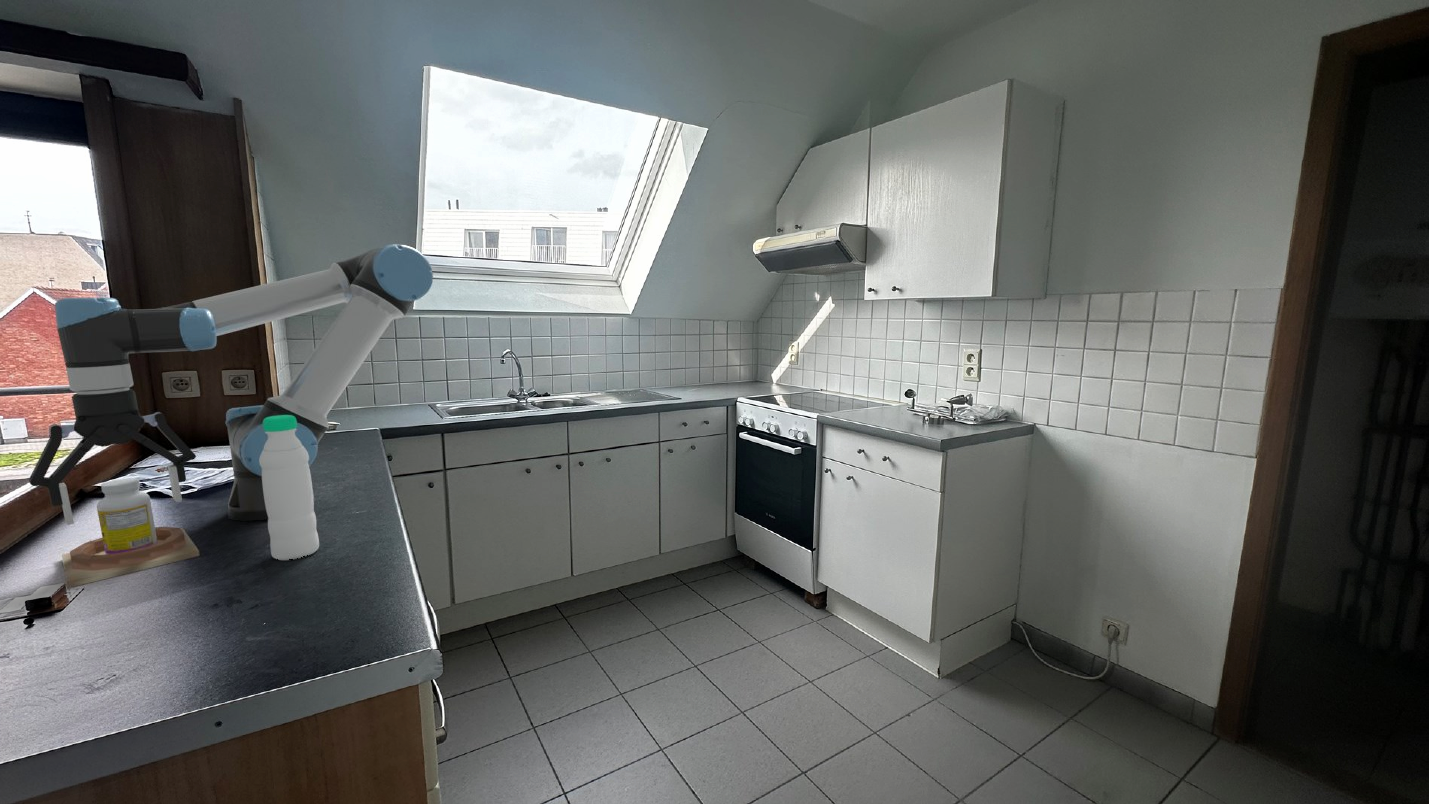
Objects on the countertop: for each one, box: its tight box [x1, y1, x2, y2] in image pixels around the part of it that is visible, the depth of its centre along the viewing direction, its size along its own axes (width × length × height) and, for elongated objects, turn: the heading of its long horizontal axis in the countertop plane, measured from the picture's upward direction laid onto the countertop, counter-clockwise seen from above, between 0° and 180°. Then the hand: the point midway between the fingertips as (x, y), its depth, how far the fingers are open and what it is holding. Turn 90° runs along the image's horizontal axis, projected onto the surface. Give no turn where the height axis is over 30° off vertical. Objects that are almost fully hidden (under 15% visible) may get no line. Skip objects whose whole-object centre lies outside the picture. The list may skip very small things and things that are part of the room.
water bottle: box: [259, 415, 320, 561], centre depth 105 cm, size 7×7×25 cm
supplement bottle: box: [96, 477, 157, 554], centre depth 104 cm, size 7×7×13 cm
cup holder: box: [61, 526, 200, 588], centre depth 105 cm, size 16×16×3 cm
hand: (126, 511), depth 104 cm, fingers open, 13 cm apart
